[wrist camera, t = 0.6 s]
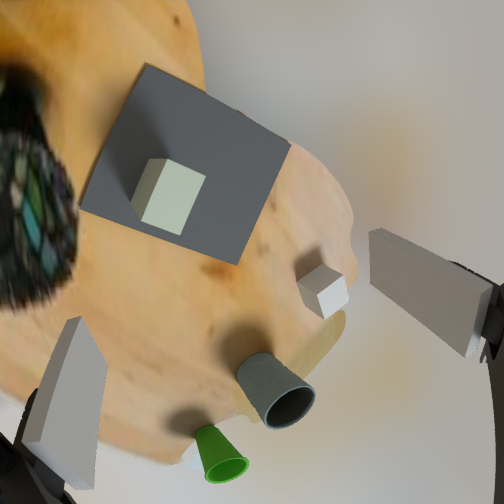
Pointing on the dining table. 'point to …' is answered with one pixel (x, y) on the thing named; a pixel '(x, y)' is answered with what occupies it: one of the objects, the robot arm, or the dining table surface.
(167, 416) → the dining table surface
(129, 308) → the dining table surface
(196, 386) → the dining table surface
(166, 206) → the sage block
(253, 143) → the mat
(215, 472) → the cup
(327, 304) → the small light-grey cube
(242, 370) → the blue-grey tumbler
